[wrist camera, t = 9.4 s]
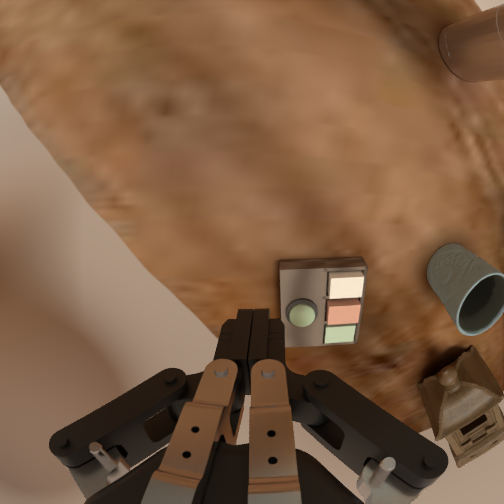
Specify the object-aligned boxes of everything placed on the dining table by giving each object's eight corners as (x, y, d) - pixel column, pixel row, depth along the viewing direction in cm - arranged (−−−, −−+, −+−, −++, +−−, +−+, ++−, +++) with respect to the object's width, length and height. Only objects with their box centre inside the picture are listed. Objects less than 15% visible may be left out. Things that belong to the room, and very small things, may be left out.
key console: (362, 257, 42) (370, 270, 38) (353, 331, 47) (358, 348, 43) (279, 260, 43) (279, 274, 39) (281, 335, 48) (281, 352, 45)
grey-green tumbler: (417, 253, 41) (453, 295, 30) (467, 227, 38) (511, 260, 27) (428, 302, 44) (458, 347, 33) (474, 277, 41) (510, 315, 31)
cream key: (360, 268, 40) (364, 276, 38) (357, 288, 42) (361, 297, 39) (328, 269, 41) (330, 278, 39) (327, 289, 42) (329, 298, 40)
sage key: (352, 316, 45) (355, 325, 43) (350, 331, 46) (353, 341, 44) (324, 318, 45) (326, 327, 43) (323, 333, 47) (324, 343, 44)
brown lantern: (396, 355, 53) (409, 433, 37) (471, 311, 45) (506, 383, 29) (440, 416, 61) (450, 472, 45) (495, 387, 53) (512, 441, 37)
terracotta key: (357, 295, 42) (360, 304, 40) (354, 313, 43) (358, 322, 41) (326, 297, 43) (329, 306, 40) (325, 315, 44) (327, 324, 42)
